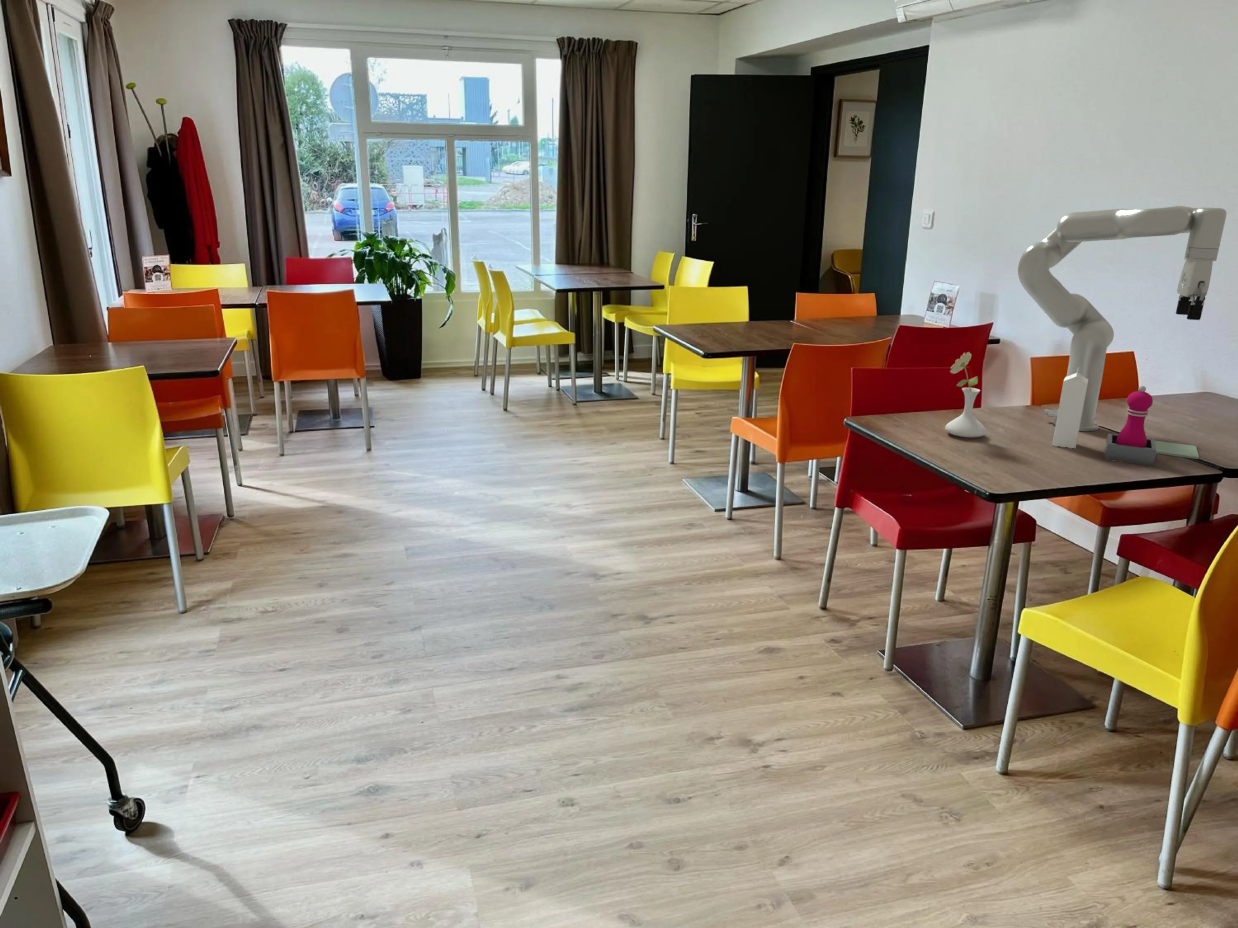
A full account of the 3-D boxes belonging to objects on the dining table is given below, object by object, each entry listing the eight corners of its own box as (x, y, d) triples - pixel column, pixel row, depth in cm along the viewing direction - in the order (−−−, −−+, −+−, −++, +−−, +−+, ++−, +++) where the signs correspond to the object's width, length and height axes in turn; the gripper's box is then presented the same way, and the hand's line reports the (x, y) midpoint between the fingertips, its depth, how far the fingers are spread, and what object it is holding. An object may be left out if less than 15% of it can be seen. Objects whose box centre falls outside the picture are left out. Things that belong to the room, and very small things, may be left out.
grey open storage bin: (1104, 459, 240) (1107, 443, 238) (1105, 448, 249) (1108, 433, 248) (1152, 466, 235) (1156, 450, 233) (1151, 454, 244) (1154, 439, 243)
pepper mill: (1147, 462, 238) (1162, 389, 232) (1118, 460, 239) (1132, 388, 233) (1138, 454, 245) (1152, 383, 238) (1109, 452, 246) (1123, 382, 240)
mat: (1140, 451, 247) (1140, 449, 247) (1139, 440, 257) (1139, 438, 257) (1198, 459, 241) (1199, 457, 241) (1195, 447, 251) (1195, 445, 251)
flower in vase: (968, 428, 267) (979, 346, 259) (993, 439, 257) (1007, 354, 249) (931, 431, 263) (942, 348, 256) (956, 442, 253) (968, 356, 245)
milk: (1076, 444, 254) (1091, 368, 247) (1075, 449, 249) (1090, 372, 242) (1053, 440, 256) (1067, 366, 249) (1051, 445, 251) (1065, 369, 244)
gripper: (1176, 251, 251) (1163, 312, 256) (1196, 256, 235) (1182, 321, 241) (1205, 252, 249) (1192, 313, 255) (1228, 258, 233) (1213, 322, 239)
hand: (1187, 317), depth 248 cm, fingers open, 9 cm apart
